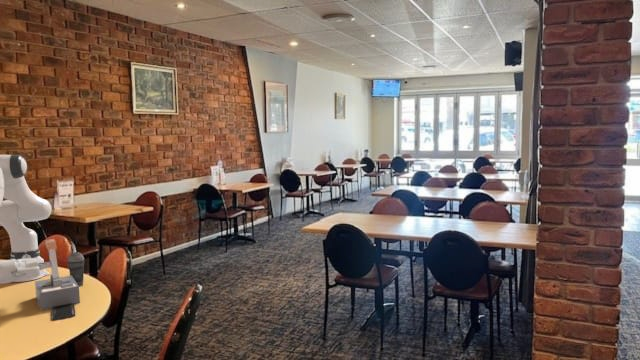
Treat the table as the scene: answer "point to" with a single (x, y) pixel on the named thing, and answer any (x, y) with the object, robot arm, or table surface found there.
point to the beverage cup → (76, 266)
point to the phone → (63, 311)
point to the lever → (52, 257)
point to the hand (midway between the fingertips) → (51, 264)
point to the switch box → (57, 292)
